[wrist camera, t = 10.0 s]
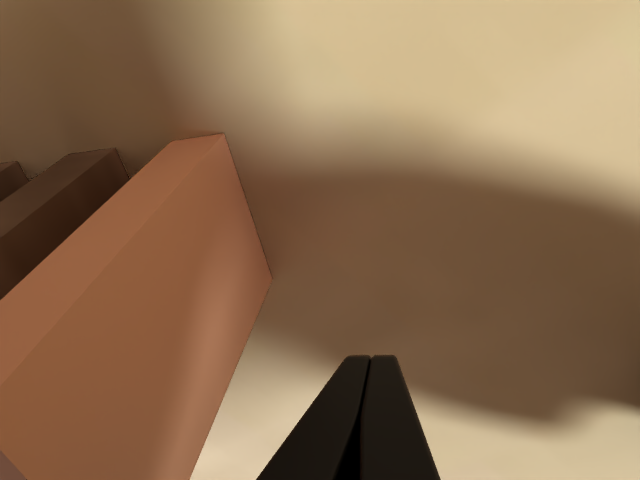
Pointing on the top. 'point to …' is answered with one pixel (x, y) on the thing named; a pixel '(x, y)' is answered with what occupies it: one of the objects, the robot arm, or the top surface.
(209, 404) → the terracotta domino
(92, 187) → the walnut domino
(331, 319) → the top surface
